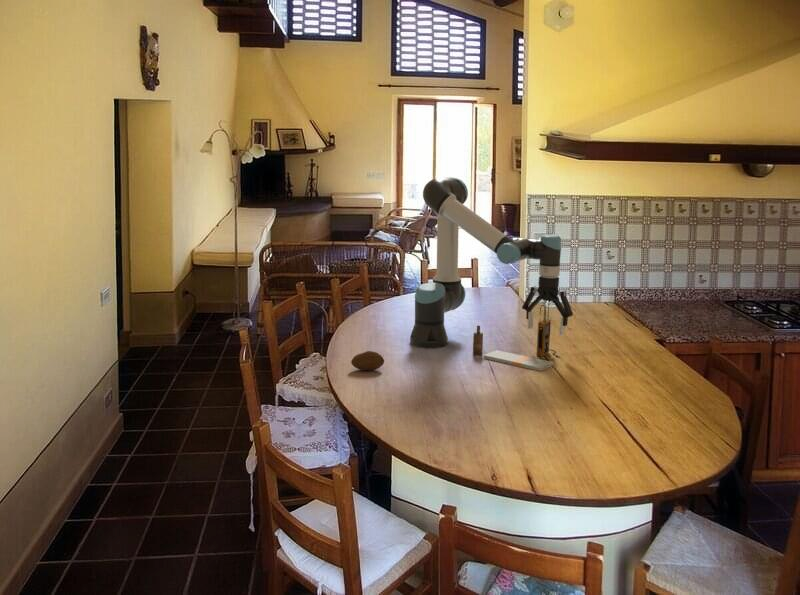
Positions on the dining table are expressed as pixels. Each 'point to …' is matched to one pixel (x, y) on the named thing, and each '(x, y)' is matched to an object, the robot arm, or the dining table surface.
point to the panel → (518, 360)
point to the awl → (477, 342)
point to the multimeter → (544, 336)
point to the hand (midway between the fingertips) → (545, 331)
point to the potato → (367, 361)
